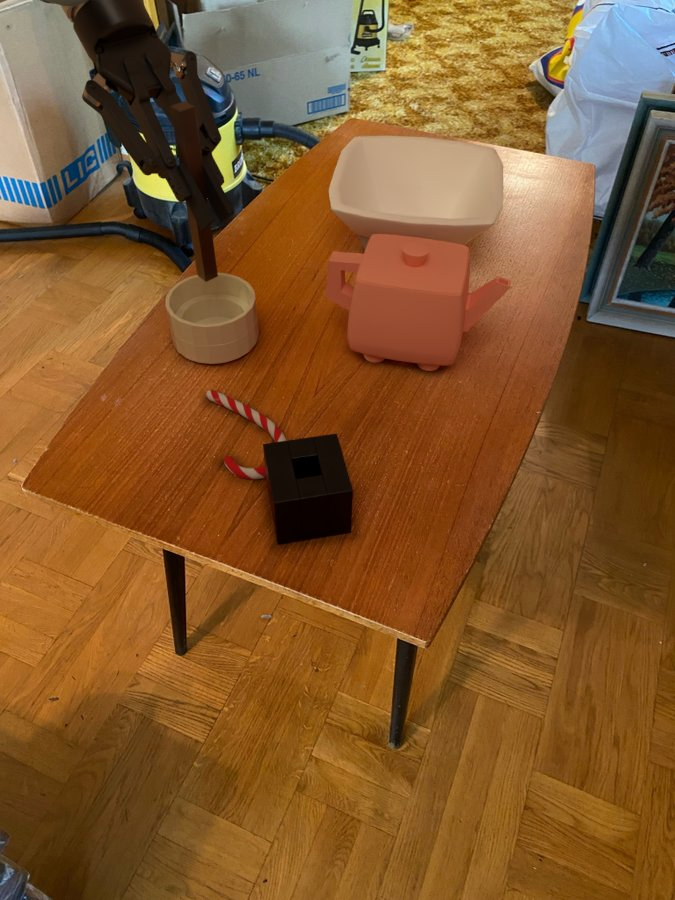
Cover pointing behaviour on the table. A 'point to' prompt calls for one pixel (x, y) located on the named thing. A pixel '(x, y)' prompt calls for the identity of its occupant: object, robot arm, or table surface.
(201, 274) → the stick
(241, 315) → the mixing bowl
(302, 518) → the stick stand
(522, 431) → the table surface
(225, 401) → the candy cane
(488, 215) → the bowl
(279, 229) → the table surface
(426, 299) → the teapot
